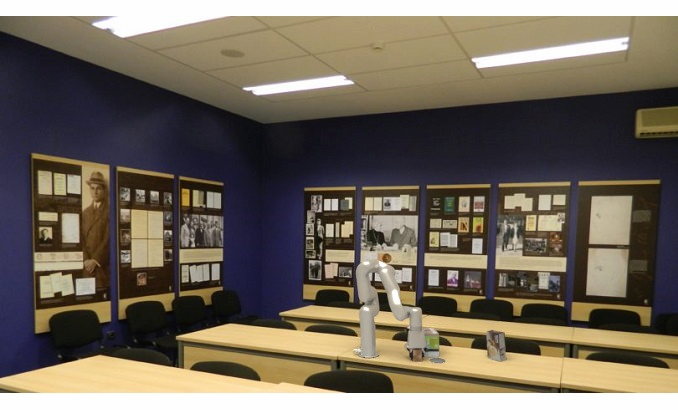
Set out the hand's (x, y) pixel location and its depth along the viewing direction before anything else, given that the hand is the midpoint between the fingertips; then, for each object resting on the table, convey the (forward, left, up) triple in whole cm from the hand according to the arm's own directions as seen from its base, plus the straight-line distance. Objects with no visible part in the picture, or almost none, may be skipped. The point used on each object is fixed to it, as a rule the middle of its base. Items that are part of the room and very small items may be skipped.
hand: (416, 358), depth 263 cm
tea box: (+11, +13, -1) cm, 17 cm away
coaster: (+12, -2, -1) cm, 12 cm away
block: (0, 0, -1) cm, 1 cm away
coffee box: (+48, -1, -1) cm, 48 cm away
